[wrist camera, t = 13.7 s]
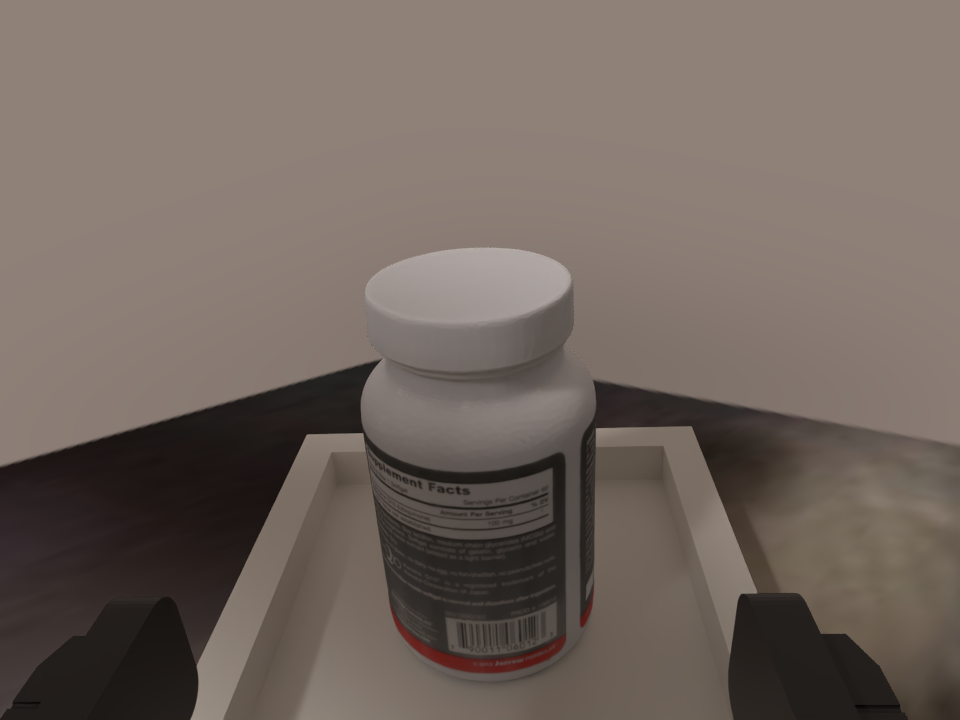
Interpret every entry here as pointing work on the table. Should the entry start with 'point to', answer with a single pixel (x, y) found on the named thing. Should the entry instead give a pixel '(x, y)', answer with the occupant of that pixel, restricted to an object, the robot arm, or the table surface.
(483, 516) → the pill bottle
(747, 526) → the table surface
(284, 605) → the tray
